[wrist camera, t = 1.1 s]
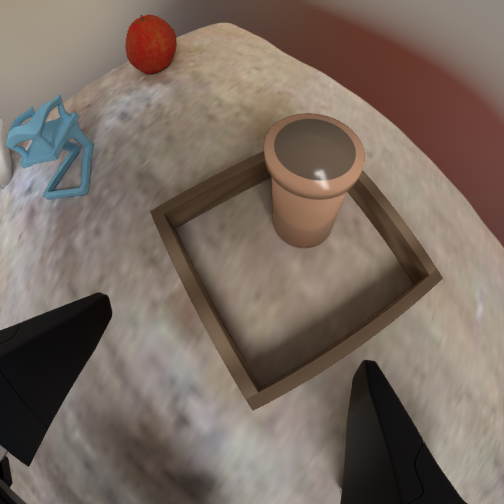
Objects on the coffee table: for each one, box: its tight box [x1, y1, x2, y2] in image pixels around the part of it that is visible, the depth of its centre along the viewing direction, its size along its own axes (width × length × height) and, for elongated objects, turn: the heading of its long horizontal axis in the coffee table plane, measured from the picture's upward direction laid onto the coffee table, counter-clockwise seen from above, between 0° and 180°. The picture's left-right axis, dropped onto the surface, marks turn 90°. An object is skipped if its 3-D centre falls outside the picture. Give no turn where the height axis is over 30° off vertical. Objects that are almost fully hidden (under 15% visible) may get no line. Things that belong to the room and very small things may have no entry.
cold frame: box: [150, 152, 443, 410], centre depth 23 cm, size 18×18×3 cm
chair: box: [6, 95, 94, 199], centre depth 25 cm, size 8×8×12 cm
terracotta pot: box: [264, 113, 365, 248], centre depth 21 cm, size 6×6×10 cm
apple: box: [126, 15, 176, 74], centre depth 32 cm, size 8×8×11 cm
